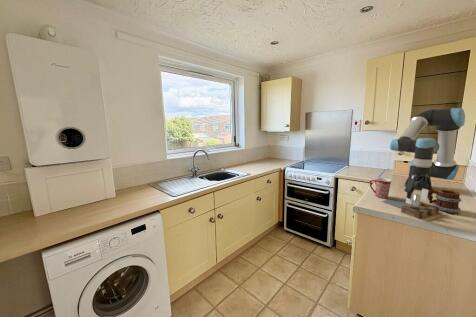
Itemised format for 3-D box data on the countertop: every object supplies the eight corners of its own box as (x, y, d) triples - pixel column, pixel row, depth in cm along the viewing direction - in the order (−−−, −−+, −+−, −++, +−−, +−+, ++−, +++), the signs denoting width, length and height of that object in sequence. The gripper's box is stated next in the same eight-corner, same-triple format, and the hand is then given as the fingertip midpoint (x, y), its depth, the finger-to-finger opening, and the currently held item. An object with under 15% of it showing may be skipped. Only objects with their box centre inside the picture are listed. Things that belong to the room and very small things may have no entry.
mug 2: (462, 216, 110) (460, 190, 110) (427, 212, 121) (425, 189, 120) (462, 210, 118) (460, 186, 117) (429, 207, 129) (427, 184, 128)
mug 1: (390, 197, 141) (393, 179, 139) (387, 200, 135) (389, 182, 133) (370, 192, 150) (372, 175, 148) (366, 195, 144) (368, 178, 142)
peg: (413, 212, 117) (415, 193, 115) (419, 215, 114) (422, 195, 112) (409, 213, 116) (412, 194, 114) (415, 216, 113) (418, 196, 111)
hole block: (419, 207, 124) (420, 201, 123) (438, 213, 115) (439, 207, 114) (400, 212, 118) (401, 206, 117) (418, 219, 109) (419, 212, 109)
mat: (394, 198, 138) (394, 198, 138) (414, 205, 127) (414, 204, 127) (380, 201, 134) (380, 201, 134) (400, 208, 123) (400, 208, 123)
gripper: (427, 162, 117) (422, 196, 121) (399, 166, 109) (394, 202, 113) (443, 165, 110) (437, 200, 114) (415, 169, 102) (409, 207, 106)
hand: (416, 201), depth 114 cm, fingers open, 13 cm apart
